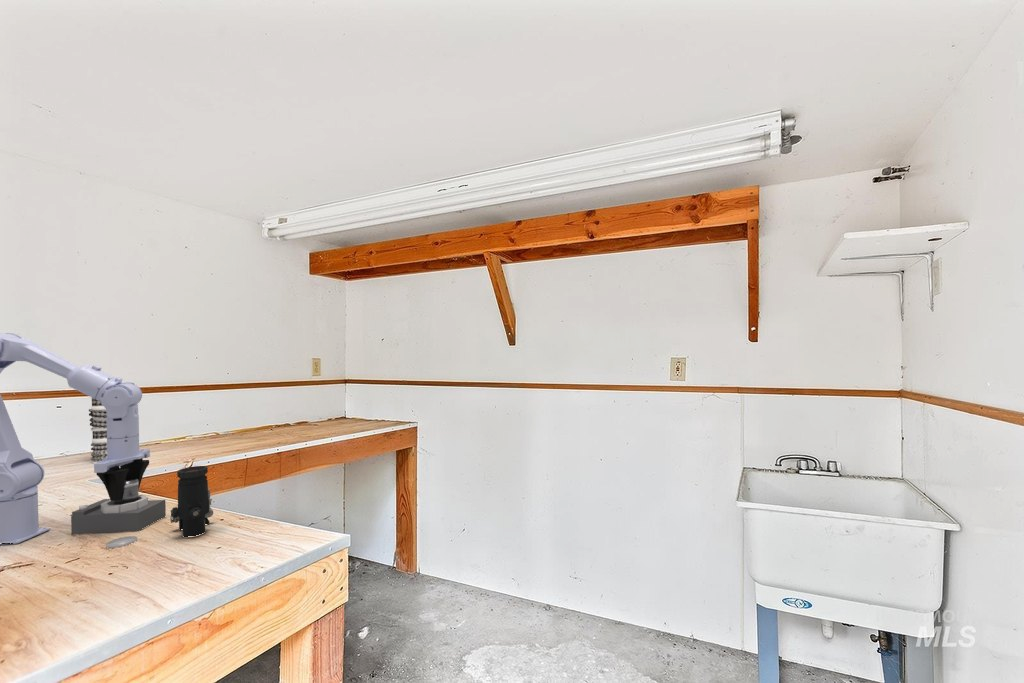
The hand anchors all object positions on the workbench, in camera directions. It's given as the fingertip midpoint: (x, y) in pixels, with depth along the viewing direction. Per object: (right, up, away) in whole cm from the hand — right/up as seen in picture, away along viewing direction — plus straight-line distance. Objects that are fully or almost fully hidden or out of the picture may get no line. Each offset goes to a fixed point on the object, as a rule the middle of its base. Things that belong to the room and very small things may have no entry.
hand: (124, 496), depth 111 cm
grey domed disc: (+8, -7, -11) cm, 15 cm away
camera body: (0, -6, 0) cm, 6 cm away
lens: (0, -2, 0) cm, 2 cm away
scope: (+20, -6, -6) cm, 21 cm away
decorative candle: (-60, -9, +67) cm, 91 cm away
